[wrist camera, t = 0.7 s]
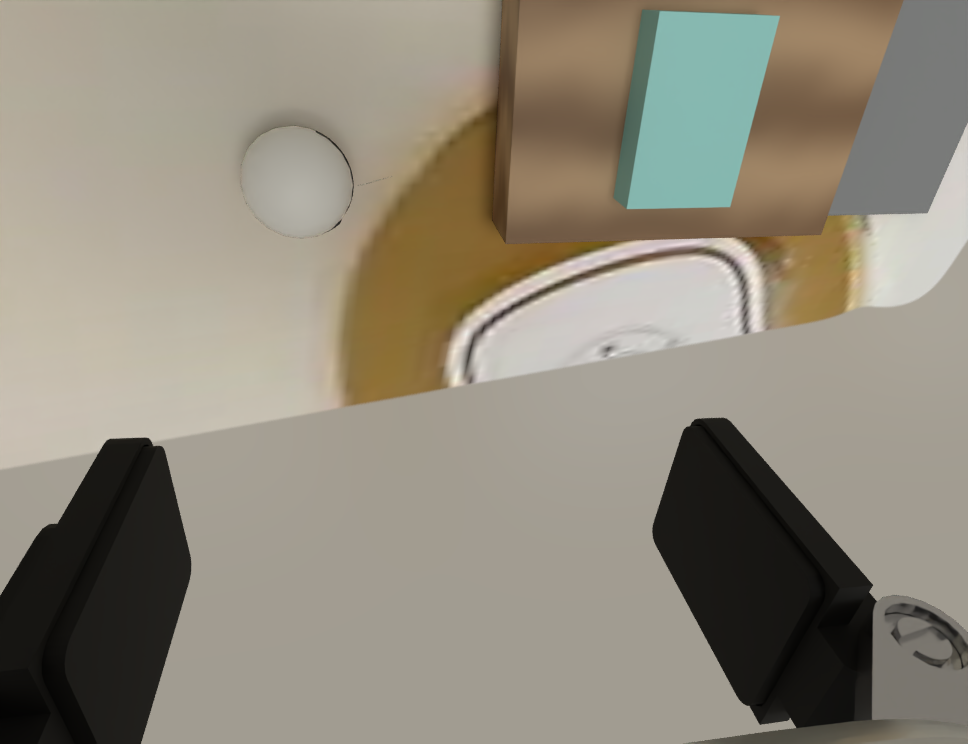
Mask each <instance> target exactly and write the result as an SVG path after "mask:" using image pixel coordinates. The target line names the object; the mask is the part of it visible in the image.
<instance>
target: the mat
mask: <svg viewBox="0 0 968 744" xmlns="http://www.w3.org/2000/svg"><path fill="white" fill-rule="evenodd" d="M967 123H968V0H904V1H903V4H902V7H901V9H900V12H899V15H898V18H897V21H896V24H895V26H894V29H893V32H892V35H891V38H890V41H889V43H888V46H887V49H886V52H885V55H884V58H883V60H882V63H881V66H880V69H879V72H878V75H877V77H876V80H875V83H874V86H873V89H872V92H871V94H870V97H869V100H868V103H867V106H866V109H865V111H864V114H863V117H862V120H861V123H860V126H859V129H858V131H857V134H856V137H855V140H854V143H853V146H852V148H851V151H850V154H849V157H848V160H847V163H846V165H845V168H844V171H843V174H842V177H841V180H840V182H839V185H838V188H837V191H836V194H835V197H834V199H833V202H832V205H831V208H830V211H829V214H828V215H869V214H913V213H928V211H929V209H930V206H931V204H932V202H933V199H934V197H935V195H936V193H937V190H938V188H939V186H940V184H941V181H942V179H943V177H944V175H945V172H946V170H947V168H948V166H949V163H950V161H951V159H952V157H953V154H954V152H955V150H956V148H957V145H958V143H959V141H960V139H961V136H962V134H963V132H964V129H965V127H966V125H967Z"/></svg>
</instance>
